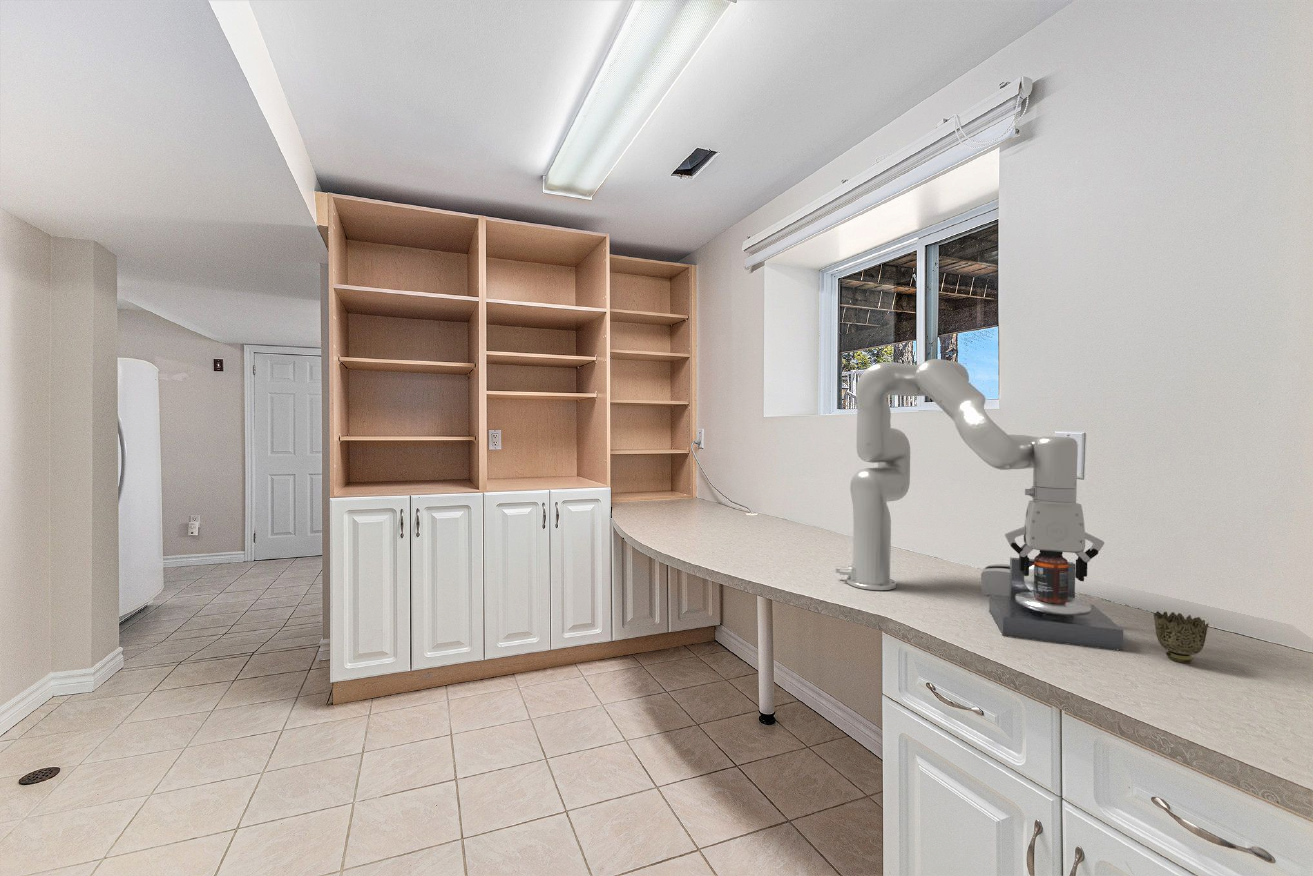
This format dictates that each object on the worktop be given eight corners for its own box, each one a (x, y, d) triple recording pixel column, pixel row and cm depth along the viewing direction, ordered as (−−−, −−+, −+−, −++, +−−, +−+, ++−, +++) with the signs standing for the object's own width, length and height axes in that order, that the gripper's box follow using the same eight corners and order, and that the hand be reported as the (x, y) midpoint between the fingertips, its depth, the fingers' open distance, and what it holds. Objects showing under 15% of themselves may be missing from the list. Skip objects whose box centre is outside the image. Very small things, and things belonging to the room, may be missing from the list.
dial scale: (1002, 635, 118) (1004, 572, 117) (989, 611, 133) (990, 555, 133) (1122, 650, 110) (1124, 583, 110) (1093, 623, 126) (1094, 564, 126)
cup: (1212, 672, 101) (1213, 627, 101) (1157, 662, 105) (1158, 619, 104) (1200, 658, 107) (1201, 615, 107) (1149, 649, 111) (1150, 608, 111)
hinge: (1063, 607, 137) (1058, 570, 135) (1055, 617, 135) (1050, 579, 132) (989, 590, 151) (984, 556, 149) (981, 599, 148) (975, 565, 146)
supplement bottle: (1070, 600, 121) (1071, 546, 120) (1065, 606, 116) (1066, 551, 116) (1036, 594, 125) (1037, 542, 124) (1030, 600, 120) (1031, 546, 120)
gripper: (1009, 495, 120) (1007, 577, 120) (1111, 500, 113) (1108, 586, 114) (1003, 491, 127) (1001, 568, 127) (1098, 496, 120) (1096, 577, 121)
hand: (1052, 577), depth 120 cm, fingers open, 9 cm apart
